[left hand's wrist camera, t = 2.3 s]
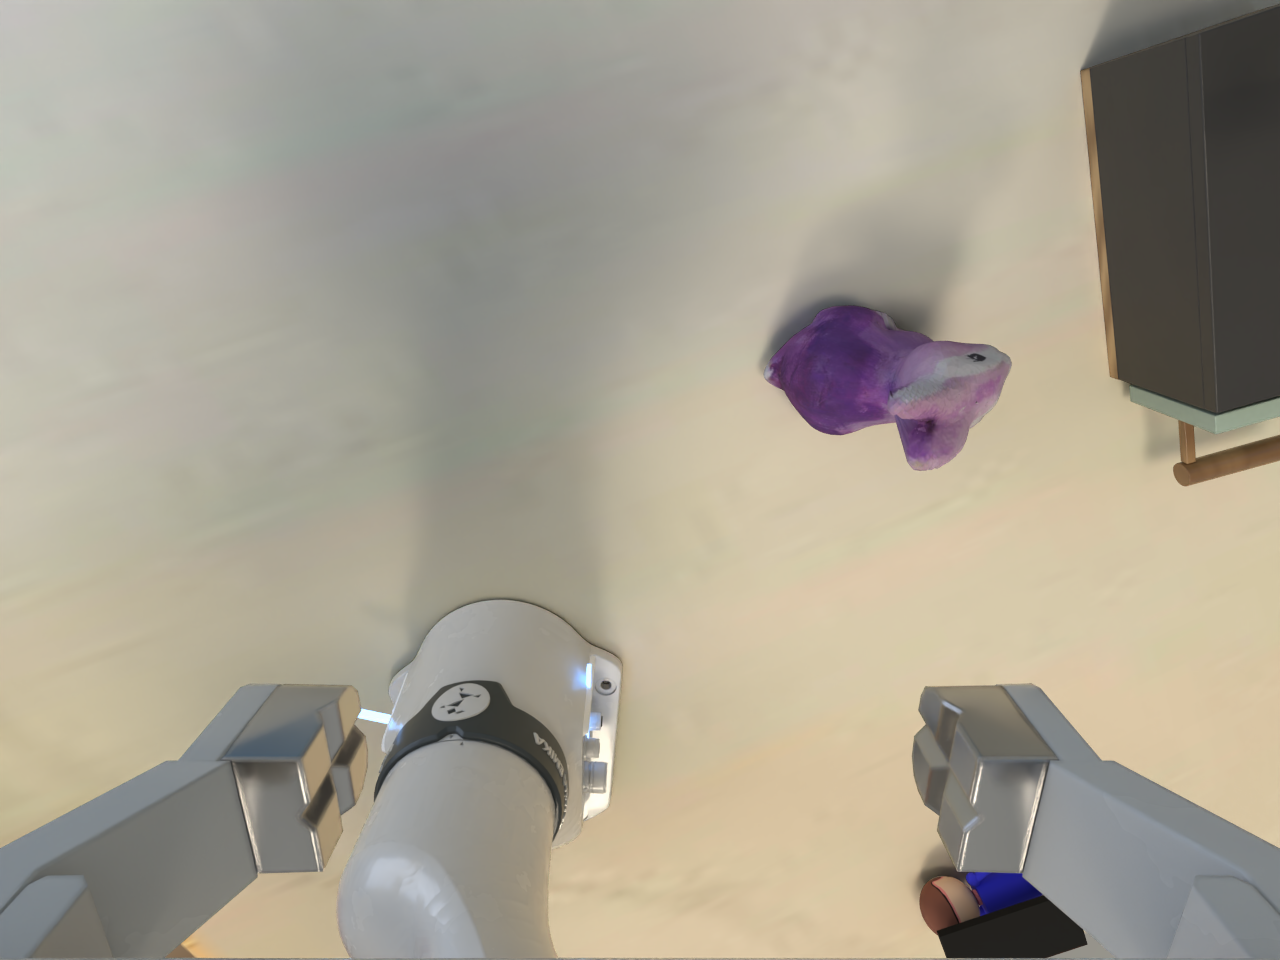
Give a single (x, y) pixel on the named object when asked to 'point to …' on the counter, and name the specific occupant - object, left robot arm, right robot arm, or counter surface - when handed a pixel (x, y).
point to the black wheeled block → (996, 918)
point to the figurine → (888, 381)
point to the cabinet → (1191, 211)
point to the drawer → (1222, 461)
